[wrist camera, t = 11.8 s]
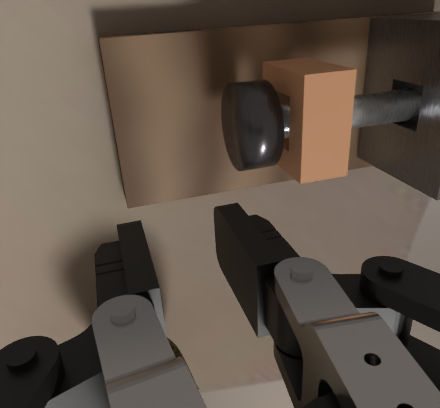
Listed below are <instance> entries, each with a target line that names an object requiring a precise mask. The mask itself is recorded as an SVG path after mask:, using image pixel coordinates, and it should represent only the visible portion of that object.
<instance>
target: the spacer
mask: <svg viewBox="0 0 440 408" xmlns="http://www.w3.org/2000/svg"><path fill="white" fill-rule="evenodd" d="M356 73H357V69H354V68H349V67H345V66H341V65H336V64H332V63H328V62H323V61H319V60H315V59H310V58H297V59H287V60H277V61H267V62H263V79H265V80H267V81H269V82H270V83H271V84H272V85H273V87H274V88H275V90H276V91H278V92H280V93H282V94H285V95H287V96H289V97H290V127H289V138H284V147H283V152H282V156H281V158H280V160H279V162H278V163H277V165H278V166H279V167H280V168H282V169H283V170H284V171H285V172H287V173H288V174H289V175H290V176H291V177H293V178H294V179H295V180H296V181H298V182H299V183H300V184H303V183H308V182H314V181H319V180H325V179H331V178H336V177H342V176H347V171H348V160H349V149H350V139H351V128H352V117H353V106H354V95H355V84H356Z"/></svg>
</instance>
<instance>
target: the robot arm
mask: <svg viewBox="0 0 440 408" xmlns="http://www.w3.org/2000/svg"><path fill="white" fill-rule="evenodd" d="M214 226H215V241H216V253H217V258H218V262H219V265H220V268H221V270H222V272H223V274H224V275H225V277H226V279H227V281H228V283H229V285H230V287H231V289H232V290H233V292H234V294H235V296H236V298H237V300H238V302H239V303H240V305H241V307H242V309H243V311H244V313H245V315H246V317H247V318H248V320H249V322H250V324H251V326H252V328H253V330H254V332H255V333H256V335H257V337H258V338H260V337H264V336H267V335H271V336H272V338H273V340H274V357H275V359H276V362H277V364H278V367H279V370H280V372H281V375H282V377H283V380H284V382H285V385H286V388H287V390H288V393H289V396H290V398H291V401H292V403H293V406H294V408H440V350H439V349H437V348H435V347H433V346H431V345H429V344H427V343H425V342H423V341H421V340H419V339H417V338H415V337H413V336H411V335H410V331H411V325H412V320H416V321H418V322H420V323H422V324H424V325H426V326H428V327H430V328H432V329H435V330H437V331H439V332H440V274H439V273H436V272H434V271H431V270H428V269H426V268H423V267H421V266H418V265H415V264H413V263H410V262H408V261H405V260H402V259H399V258H396V257H390V256H377V257H372V258H369V259H367V260H366V261H364V263H363V264H362V268H361V274H331V273H330V271H329V270H328V268H327V267H326V266H325V265H324V264H322V263H321V262H319V261H317V260H314V259H311V258H305V257H300V256H299V255H298V254H297V253H296V252H295V250H294V249H293V248H292V247H291V246H290V245H289V244H288V242H287V241H286V240H285V239H284V238H283V237H282V236H281V234H280V233H279V232H278V231H276V229H275V228H274V226H273V225H272V224H271V223H270V222H269V221H268V220H266V219H264V218H262V217H260V216H258V215H251V216H248V215H247V214H246V212H245V211H244V210H243V209H242V207H241V206H240V205H239V204H238V203H234V204H228V205H223V206H217V207H215V208H214ZM117 230H118V236H119V241H115V242H110V243H104V244H101V246H100V247H99V249H98V250H97V252H96V253H95V271H96V289H97V307H98V308H97V309H96V310H95V312H94V314H93V316H92V324H91V325H90V326H89V327H88V328H87V329H86V330H85V331H84V332H82V333H81V334H79V335H78V336H76V337H74V338H72V339H70V340H68V341H66V342H64V343H62V344H59V345H57V343H56V342H55V341H54V340H52V339H51V338H48V337H44V336H31V337H26V338H23V339H20V340H17V341H15V342H12V343H11V344H9V345H7V346H6V347H4V348H3V349H1V350H0V408H207V407H206V405H205V403H204V401H203V399H202V397H201V394H200V392H199V390H198V388H197V386H196V384H195V382H194V379H193V377H192V375H191V373H190V371H189V369H188V367H187V365H186V363H185V361H184V359H183V358H182V357H177V358H176V357H175V355H174V352H173V350H172V348H171V346H170V343H169V341H168V339H167V336H166V329H165V322H164V315H163V308H162V301H161V294H160V288H159V284H158V281H157V277H156V273H155V270H154V266H153V263H152V259H151V255H150V252H149V248H148V245H147V241H146V238H145V234H144V230H143V227H142V223H141V220H140V221H134V222H129V223H123V224H118V225H117Z"/></svg>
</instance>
